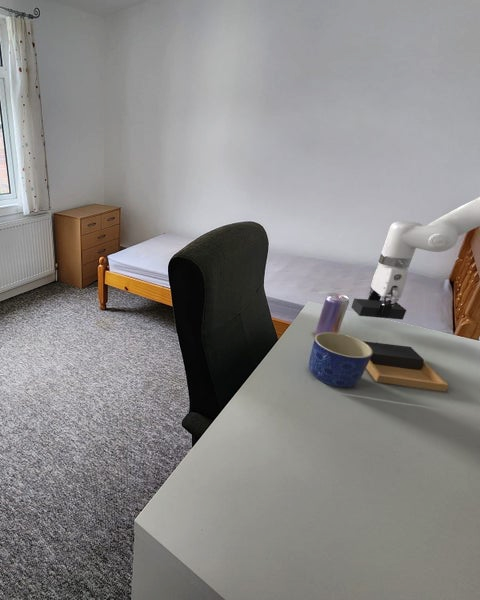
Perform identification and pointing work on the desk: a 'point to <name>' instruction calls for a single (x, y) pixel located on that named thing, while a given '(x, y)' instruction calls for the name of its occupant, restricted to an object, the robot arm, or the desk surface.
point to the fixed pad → (395, 356)
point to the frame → (408, 376)
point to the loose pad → (376, 309)
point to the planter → (338, 359)
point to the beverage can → (332, 313)
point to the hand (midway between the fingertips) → (376, 310)
